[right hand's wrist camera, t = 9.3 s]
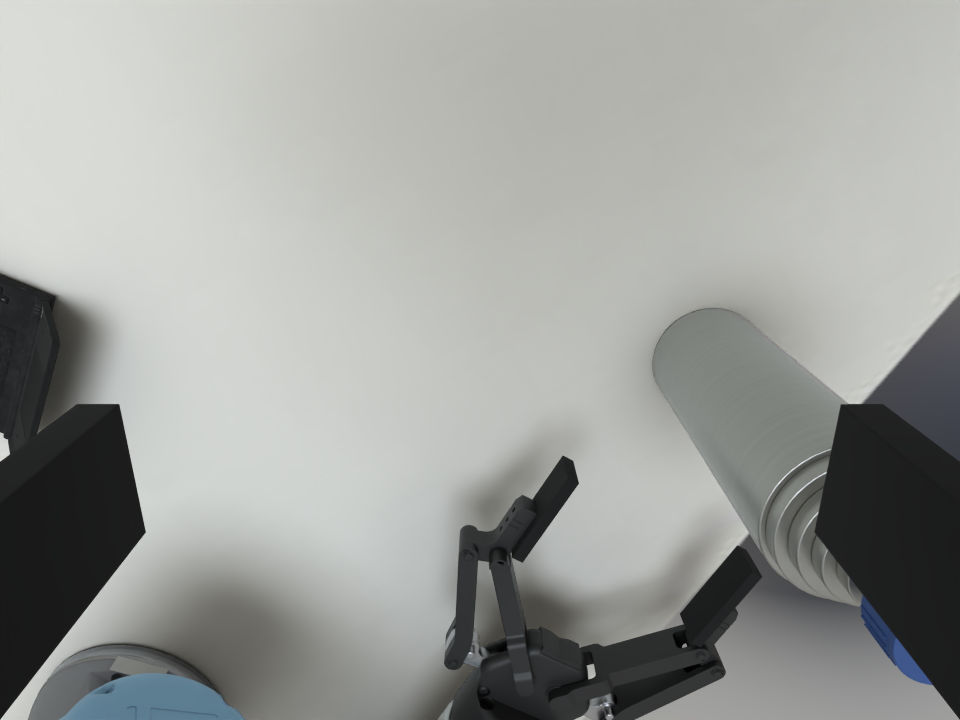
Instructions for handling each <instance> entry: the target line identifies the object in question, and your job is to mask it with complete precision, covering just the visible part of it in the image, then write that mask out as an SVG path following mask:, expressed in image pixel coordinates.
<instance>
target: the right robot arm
mask: <svg viewBox="0 0 960 720" xmlns="http://www.w3.org/2000/svg"><path fill="white" fill-rule="evenodd" d="M145 533H146V531H145V526H144V522H143V517H142V512H141V507H140V502H139V497H138V493H137V488H136V483H135V478H134V473H133V468H132V464H131V459H130V454H129V449H128V444H127V439H126V435H125V430H124V425H123V420H122V415H121V411H120V406H119V404H77V405H75V406H74V407H73V408H71V409H70V410H69V411H67V412H66V413H65V414H63V415H62V416H61V417H59V418H58V419H57V420H55V421H54V422H53V423H51V424H50V425H49V426H47V427H46V428H45V429H43V430H42V431H41V432H39V433H38V434H37V435H35V436H34V437H33V438H31V439H30V440H29V441H27V442H26V443H25V444H23V445H22V446H21V447H19V448H18V449H17V450H15V451H14V452H13V453H11V454H10V455H9V456H7V457H6V458H5V459H3V460H2V461H1V462H0V719H1V718H2V717H3V715H4V714H5V713H6V711H7V710H8V709H9V708H10V706H11V705H12V704H13V702H14V701H15V700H16V698H17V697H18V696H19V695H20V693H21V692H22V691H23V689H24V688H25V687H26V686H27V684H28V683H29V682H30V680H31V679H32V678H33V677H34V675H35V674H36V673H37V671H38V670H39V669H40V668H41V666H42V665H43V664H44V662H45V661H46V660H47V659H48V657H49V656H50V655H51V653H52V652H53V651H54V650H55V648H56V647H57V646H58V644H59V643H60V642H61V641H62V639H63V638H64V637H65V635H66V634H67V633H68V632H69V630H70V629H71V628H72V626H73V625H74V624H75V623H76V621H77V620H78V619H79V617H80V616H81V615H82V614H83V612H84V611H85V610H86V608H87V607H88V606H89V605H90V603H91V602H92V601H93V599H94V598H95V597H96V596H97V594H98V593H99V592H100V590H101V589H102V588H103V587H104V585H105V584H106V583H107V581H108V580H109V579H110V578H111V576H112V575H113V574H114V572H115V571H116V570H117V569H118V567H119V566H120V565H121V563H122V562H123V561H124V560H125V558H126V557H127V556H128V554H129V553H130V552H131V551H132V549H133V548H134V547H135V545H136V544H137V543H138V542H139V540H140V539H141V538H142V536H143V535H144V534H145ZM814 533H815V534H816V535H817V536H818V538H819V539H820V540H821V542H822V543H823V544H824V545H825V547H826V548H827V549H828V551H829V552H830V553H831V554H832V556H833V557H834V558H835V560H836V561H837V562H838V563H839V565H840V566H841V567H842V569H843V570H844V571H845V572H846V574H847V575H848V576H849V578H850V579H851V580H852V581H853V583H854V584H855V585H856V587H857V588H858V589H859V590H860V592H861V593H862V594H863V596H864V597H865V598H866V599H867V601H868V602H869V603H870V605H871V606H872V607H873V608H874V610H875V611H876V612H877V614H878V615H879V616H880V617H881V619H882V620H883V621H884V623H885V624H886V625H887V626H888V628H889V629H890V630H891V632H892V633H893V634H894V635H895V637H896V638H897V639H898V641H899V642H900V643H901V644H902V646H903V647H904V648H905V650H906V651H907V652H908V653H909V655H910V656H911V657H912V659H913V660H914V661H915V662H916V664H917V665H918V666H919V668H920V669H921V670H922V671H923V673H924V674H925V675H926V677H927V678H928V679H929V680H930V682H931V683H932V684H933V686H934V687H935V688H936V689H937V691H938V692H939V693H940V695H941V696H942V697H943V698H944V700H945V701H946V702H947V704H948V705H949V706H950V708H951V709H952V710H953V711H954V713H955V714H956V715H957V717H958V718H959V719H960V462H959V461H958V460H957V459H955V458H954V457H953V456H951V455H950V454H949V453H947V452H946V451H945V450H943V449H942V448H941V447H939V446H938V445H937V444H935V443H934V442H933V441H931V440H930V439H929V438H927V437H926V436H925V435H923V434H922V433H921V432H919V431H918V430H917V429H915V428H914V427H913V426H911V425H910V424H909V423H907V422H906V421H904V420H903V419H902V418H900V417H899V416H898V415H897V414H895V413H894V412H893V411H891V410H890V409H889V408H887V407H886V406H885V405H883V404H841V406H840V411H839V415H838V420H837V425H836V430H835V435H834V439H833V444H832V449H831V454H830V459H829V464H828V468H827V473H826V478H825V483H824V488H823V493H822V497H821V502H820V507H819V512H818V517H817V522H816V526H815V531H814Z"/></svg>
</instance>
